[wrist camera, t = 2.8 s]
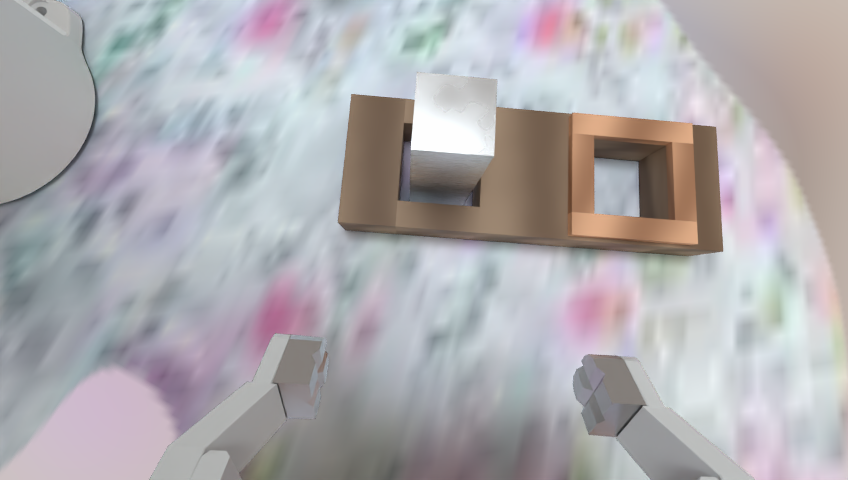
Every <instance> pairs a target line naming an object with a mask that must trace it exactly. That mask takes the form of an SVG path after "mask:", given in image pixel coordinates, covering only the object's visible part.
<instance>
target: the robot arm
mask: <svg viewBox="0 0 848 480" xmlns="http://www.w3.org/2000/svg"><path fill="white" fill-rule="evenodd" d="M82 34H83V26H82V20H81V17H80V16H79V14H78V13H76V12H75V11H74V10H72V9H71V8H69V7H68V6H67V5H65V4H63V3H61V2H59V1H56V0H0V204H2V203H6V202H9V201H12V200H16V199H18V198H21V197H23V196H25V195H28V194H30V193H32V192H34V191H35V190H37V189H39V188H41V187H42V186H44V185H45V184H47V183H48V182H49V181H51V180H52V179H53V178H55V177H56V176H57V175H58V174H59V173H60V172H61V171H62V170H63V169H65V167H66V166H67V165H68V164H69V163H70V162H71V161H72V160H73V158H74V157H75V156H76V154H77V153H78V151H79V150H80V148H81V147H82V145H83V143H84V141H85V139H86V137H87V135H88V133H89V130H90V127H91V124H92V120H93V116H94V109H95V90H94V84H93V80H92V76H91V74H90V71H89V69H88V66H87V64H86V62H85V59H84V57H83V54H82V49H81V46H82ZM326 346H327V342H326V338H324V337H313V336H301V335H290V334H276V333H275V335H274V336H273V337H272V338H271V340H270V343H269V345H268V347H267V349H266V352H265V354H264V356H263V358H262V361H261V363H260V365H259V367H258V370H257V372H256V374H255V377H254V379H253V381H252V382H246V383H245V384H244V385H243V386H241V387H240V388H239V389H238V390H236V391H235V392H234V393H233V394H231V395H230V396H229V397H228V398H227V399H225V400H224V401H223V402H222V403H220V404H219V405H218V406H217V407H215V408H214V409H213V410H212V411H211V412H209V413H208V414H207V415H206V416H204V417H203V418H202V419H201V420H199V421H198V422H197V423H196V424H195V425H193V426H192V427H191V428H190V429H188V430H187V431H186V432H185V433H183V434H182V435H181V436H180V437H179V438H177V439H176V440H175V441H174V442H172V443H171V444H170V445H169V446H168V447H167V449H166V451H165V452H164V454H163V456H162V458H161V459H160V461H159V463H158V465H157V467H156V468H155V470H154V472H153V474H152V475H151V477H150V479H149V480H242V479H241V477H240V475H239V473H240V472H241V471H242V470H243V468H244V467H245V466H246V465H247V464H248V463H249V462H250V461H251V460H252V458H253V457H254V456H255V455H256V454H257V453H258V452H259V451H260V449H261V448H262V447H263V446H264V445H265V444H266V443H267V442H268V440H269V439H270V438H271V437H272V436H273V435H274V434H275V433H276V431H277V430H278V429H279V428H280V427H281V426H282V425H283V424H284V422H285V421H286V420H287V419H286V418H297V419H316V415H317V411H318V408H319V404H320V400H321V393H320V388H321V387H322V386H323V385H324V384H325V381H326V377H327V371H328V353H327V352H326V351H325V350H326ZM582 364H583V366H582V367H580V368H578V369H577V370H576V372H575V374H574V376H573V389H574V393H575V396H576V399H577V400H578V401H579V402H580V403H581V404H582V405H583V406H584V407H583V410H582V413H581V414H582V417H583V420H584V422H585V425H586V428H587V431H588V434H589V435H598V436H609V437H617V438H616V439H617V441H618V442H619V443H620V444H621V445H622V446H623V448H624V449H625V450H626V451H627V452H628V453H629V455H630V456H631V457H632V458H633V459H634V461H635V462H636V463H637V464H638V465H639V466H640V468H641V469H642V470H643V471H644V472H645V473H646V475H647V476H648V477H649V478H650V479H651V480H755V479H754V478H753V477H752V476H751V475H750V474H748V473H747V472H746V471H745V470H744V469H742V468H741V467H740V466H739V465H738V464H736V463H735V462H734V461H733V460H732V459H730V458H729V457H728V456H727V455H726V454H724V453H723V452H722V451H721V450H720V449H719V448H717V447H716V446H715V445H714V444H713V443H711V442H710V441H709V440H708V439H707V438H705V437H704V436H703V435H702V434H701V433H699V432H698V431H697V430H696V429H695V428H694V427H692V426H691V425H690V424H689V423H688V422H686V421H685V420H684V419H683V418H682V417H680V416H679V415H678V414H677V413H676V412H674V411H673V410H672V409H671V408H668V407H665V406H664V404H663V402H662V401H661V399H660V397H659V395H658V393H657V392H656V390H655V388H654V386H653V384H652V382H651V381H650V379H649V377H648V375H647V373H646V372H645V370H644V368H643V366H642V364H641V362H640V361H639V360H638V359H637V358H635V357H621V356H612V355H592V354H588V355H586V356H584V358H583V359H582Z"/></svg>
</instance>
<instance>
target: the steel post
mask: <svg viewBox="0 0 848 480" xmlns="http://www.w3.org/2000/svg"><path fill="white" fill-rule="evenodd" d="M496 100H497V79H487V78H476V77H465V76H455V75H444V74H433V73H422V72H417V77H416V90H415V103H414V116H413V129H412V141H411V162H410V195H409V201H410V202H423V203H435V204H448V205H461V206H463V204H464V203H465V201H466V200H467V198H468V196H469V195H470V193H471V192H472V190H473V189H474V187H475V185H476V184H477V182H478V181H479V179H480V178H481V176H482V175H483V173H484V171H485V170H486V168H487V167H488V165H489V164H490V162H491V160H492V159H493V157H494V149H495V124H496Z"/></svg>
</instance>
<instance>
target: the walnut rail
mask: <svg viewBox="0 0 848 480" xmlns="http://www.w3.org/2000/svg"><path fill="white" fill-rule="evenodd" d="M414 103H415V100H412V99H400V98H389V97H378V96H367V95H356V94H351V103H350V113H349V122H348V131H347V141H346V150H345V160H344V169H343V178H342V188H341V197H340V207H339V216H338V223H339V224H340V225H341V226H342V227H343V228H344V229H345V230H351V231H364V232H377V233H391V234H404V235H417V236H430V237H444V238H457V239H470V240H484V241H497V242H510V243H523V244H537V245H550V246H563V247H576V248H590V249H603V250H616V251H629V252H643V253H656V254H669V255H682V256H693V255H700V254H708V253H715V252H722V251H723V239H722V222H721V204H720V187H719V170H718V152H717V135H716V127H712V126H701V125H692V123H681V122H670V121H659V120H648V119H637V118H626V117H615V116H604V115H593V114H581V113H572V114H567V113H556V112H545V111H534V110H523V109H512V108H501V107H496V124H495V149H494V157H493V159H492V160H491V162H490V164H489V165H488V167H487V168H486V170H485V171H484V173H483V175H482V176H481V178H480V179H479V181H478V182H477V184H476V185H475V187H474V189H473V201H472V206H461V205H448V204H435V203H423V202H410V201H399V199H400V186H401V174H402V161H403V149H404V141H410V142H411V141H412V129H413V116H414ZM594 157H597V158H609V159H621V160H632V161H639V189H640V217H629V216H616V215H604V214H594Z"/></svg>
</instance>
